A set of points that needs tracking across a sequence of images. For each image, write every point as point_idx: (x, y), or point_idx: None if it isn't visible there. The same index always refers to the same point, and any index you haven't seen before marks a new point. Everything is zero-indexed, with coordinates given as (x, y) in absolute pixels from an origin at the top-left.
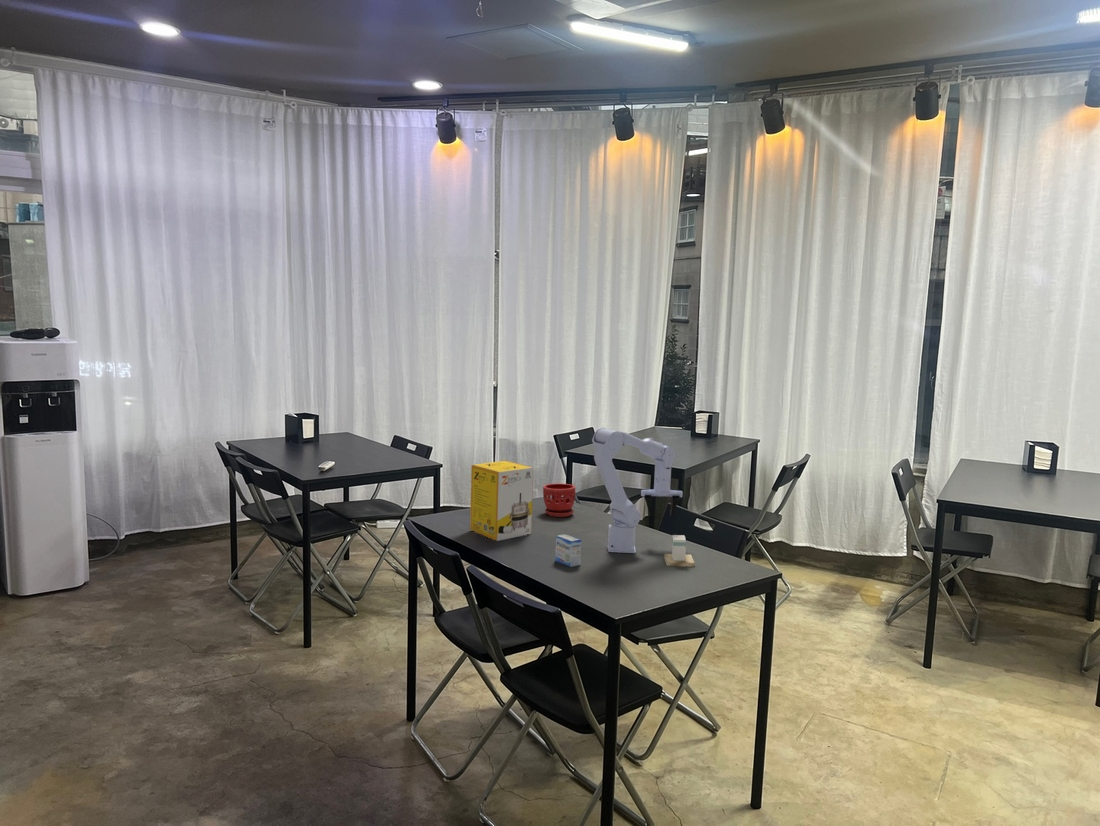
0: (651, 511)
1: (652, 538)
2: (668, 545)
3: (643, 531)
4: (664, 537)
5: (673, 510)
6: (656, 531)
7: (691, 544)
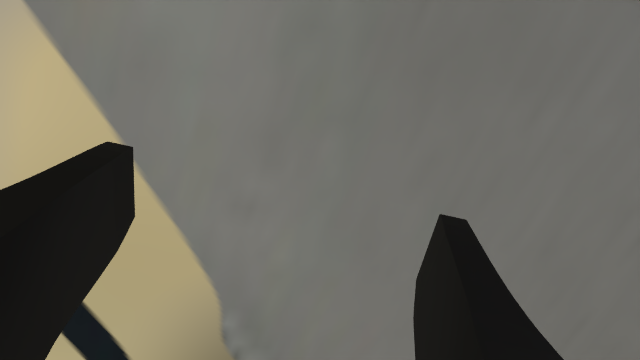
0: (453, 259)
1: (331, 216)
2: (256, 13)
3: (337, 356)
4: (228, 223)
5: (36, 182)
6: (247, 342)
7: (40, 18)
